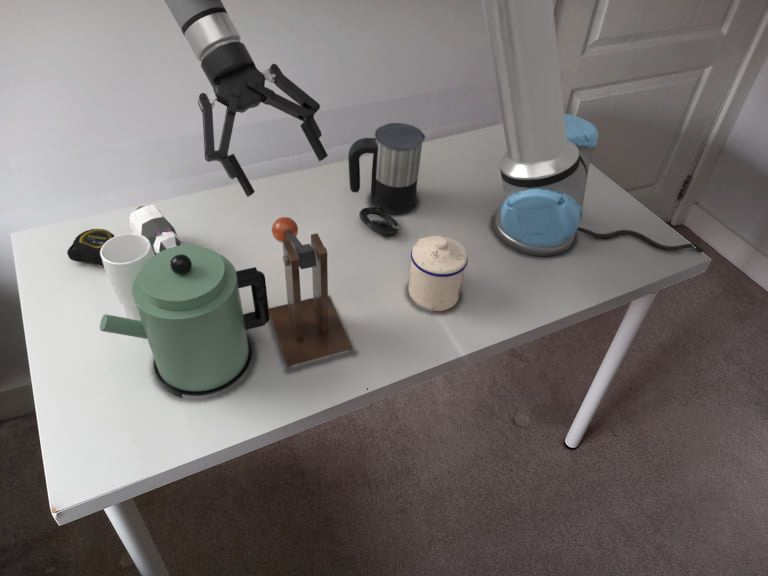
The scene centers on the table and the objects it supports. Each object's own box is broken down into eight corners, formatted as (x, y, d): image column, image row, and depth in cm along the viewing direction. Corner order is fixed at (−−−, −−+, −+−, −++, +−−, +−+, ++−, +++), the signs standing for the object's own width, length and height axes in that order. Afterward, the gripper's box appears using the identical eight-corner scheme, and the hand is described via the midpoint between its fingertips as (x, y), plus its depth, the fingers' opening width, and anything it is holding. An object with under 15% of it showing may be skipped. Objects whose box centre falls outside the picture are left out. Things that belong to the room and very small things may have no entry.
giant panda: (133, 244, 105) (119, 201, 98) (163, 233, 108) (152, 190, 101) (168, 293, 97) (155, 249, 91) (200, 280, 100) (190, 236, 93)
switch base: (267, 313, 95) (257, 227, 83) (327, 299, 98) (326, 213, 86) (288, 370, 88) (280, 284, 75) (352, 352, 91) (354, 266, 78)
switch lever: (271, 240, 94) (267, 216, 92) (296, 235, 95) (292, 211, 93) (295, 276, 81) (291, 249, 79) (323, 270, 82) (320, 243, 80)
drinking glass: (131, 305, 95) (105, 232, 84) (175, 304, 96) (155, 232, 85) (121, 337, 90) (93, 264, 80) (167, 336, 91) (145, 264, 80)
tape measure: (69, 265, 101) (62, 248, 98) (92, 240, 105) (86, 223, 103) (106, 273, 100) (100, 256, 97) (128, 247, 105) (122, 231, 102)
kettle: (261, 310, 96) (248, 208, 81) (284, 377, 87) (274, 275, 72) (118, 345, 89) (75, 240, 75) (127, 421, 80) (81, 319, 66)
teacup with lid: (469, 306, 99) (481, 254, 91) (419, 318, 96) (426, 265, 88) (439, 260, 107) (448, 208, 99) (392, 270, 104) (397, 217, 96)
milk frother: (407, 184, 123) (413, 119, 113) (438, 230, 113) (448, 163, 102) (341, 195, 119) (341, 129, 108) (367, 245, 109) (370, 177, 98)
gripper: (284, 35, 100) (344, 150, 103) (144, 90, 91) (215, 214, 94) (295, 14, 93) (359, 138, 96) (145, 72, 84) (221, 206, 87)
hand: (288, 176), depth 95 cm, fingers open, 13 cm apart
